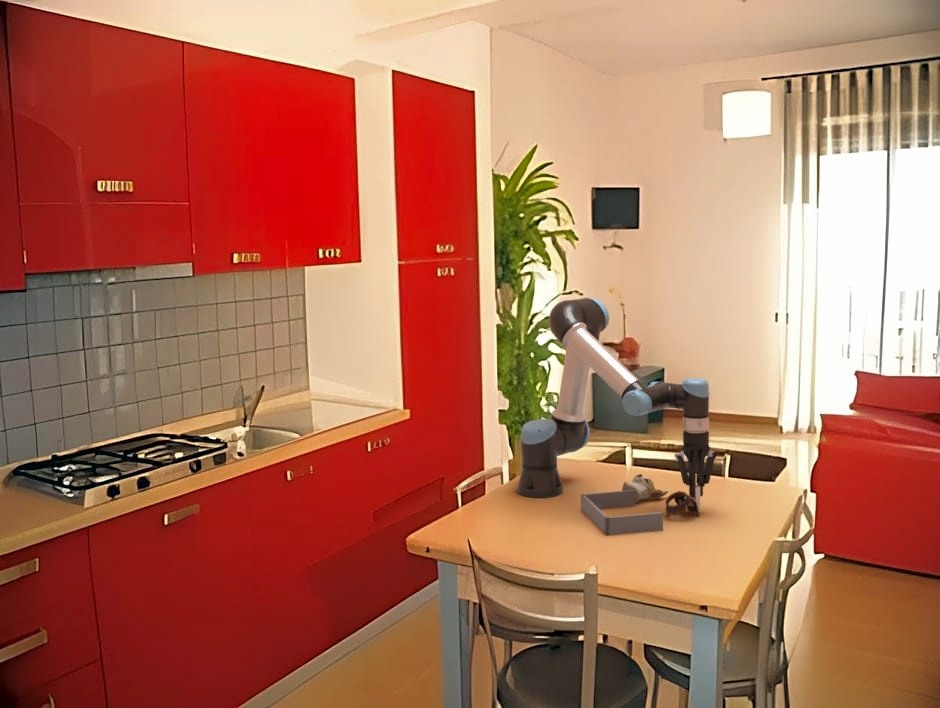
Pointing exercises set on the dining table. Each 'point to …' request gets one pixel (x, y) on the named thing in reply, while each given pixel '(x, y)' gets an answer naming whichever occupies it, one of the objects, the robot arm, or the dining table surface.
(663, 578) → the dining table surface
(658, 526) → the walled box
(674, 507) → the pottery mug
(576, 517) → the dining table surface
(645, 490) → the ceramic sculpture
